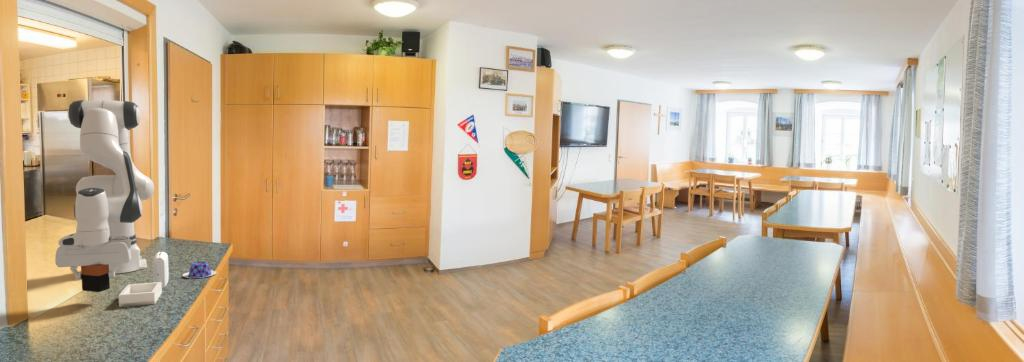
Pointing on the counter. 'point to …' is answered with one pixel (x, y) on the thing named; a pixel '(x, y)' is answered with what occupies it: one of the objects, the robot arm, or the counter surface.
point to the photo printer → (160, 268)
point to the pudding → (199, 270)
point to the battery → (95, 277)
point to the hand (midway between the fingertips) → (95, 277)
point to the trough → (140, 294)
